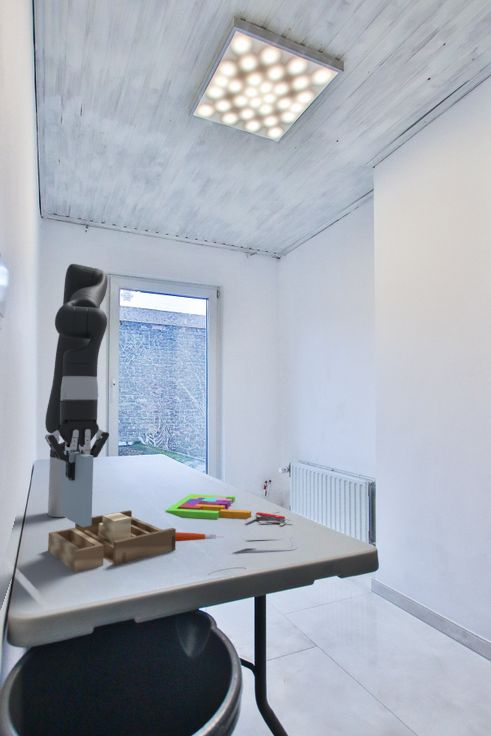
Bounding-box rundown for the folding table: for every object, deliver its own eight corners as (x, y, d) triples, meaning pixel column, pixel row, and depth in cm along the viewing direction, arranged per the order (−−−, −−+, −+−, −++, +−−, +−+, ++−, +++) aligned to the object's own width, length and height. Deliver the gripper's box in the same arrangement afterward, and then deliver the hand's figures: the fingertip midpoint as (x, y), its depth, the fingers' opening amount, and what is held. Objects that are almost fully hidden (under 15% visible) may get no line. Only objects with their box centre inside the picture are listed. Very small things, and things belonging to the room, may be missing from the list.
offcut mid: (98, 533, 99) (98, 523, 100) (114, 529, 102) (115, 520, 102) (113, 541, 93) (113, 531, 94) (130, 537, 96) (130, 527, 96)
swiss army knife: (302, 520, 124) (302, 513, 124) (279, 531, 112) (279, 523, 112) (267, 514, 130) (267, 507, 130) (243, 524, 118) (243, 517, 119)
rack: (74, 544, 102) (75, 520, 102) (129, 532, 111) (129, 510, 112) (115, 571, 86) (116, 542, 86) (175, 554, 95) (175, 528, 95)
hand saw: (293, 530, 108) (305, 544, 98) (293, 543, 108) (304, 558, 98) (162, 530, 103) (161, 544, 94) (162, 543, 103) (160, 559, 93)
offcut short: (102, 525, 98) (102, 515, 98) (118, 522, 101) (119, 512, 101) (113, 531, 94) (114, 520, 94) (130, 527, 96) (131, 517, 96)
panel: (61, 515, 95) (63, 451, 96) (69, 513, 96) (71, 450, 97) (82, 527, 86) (84, 456, 87) (91, 525, 87) (93, 455, 88)
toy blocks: (165, 518, 127) (248, 522, 122) (165, 510, 127) (248, 514, 122) (190, 500, 149) (261, 504, 144) (190, 494, 149) (261, 497, 144)
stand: (44, 556, 94) (45, 533, 94) (76, 549, 98) (77, 527, 99) (71, 579, 82) (72, 552, 82) (106, 569, 86) (107, 544, 87)
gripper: (102, 398, 100) (100, 473, 99) (40, 397, 91) (37, 480, 90) (117, 398, 95) (115, 478, 93) (52, 397, 85) (48, 486, 84)
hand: (76, 479), depth 91 cm, fingers closed on panel, 2 cm apart
